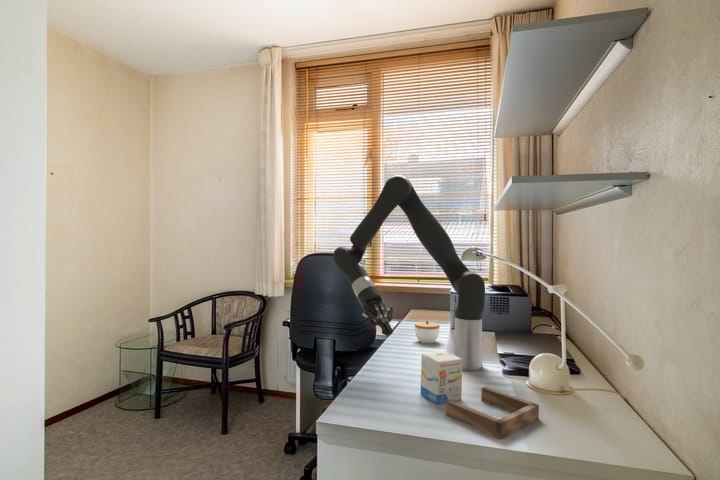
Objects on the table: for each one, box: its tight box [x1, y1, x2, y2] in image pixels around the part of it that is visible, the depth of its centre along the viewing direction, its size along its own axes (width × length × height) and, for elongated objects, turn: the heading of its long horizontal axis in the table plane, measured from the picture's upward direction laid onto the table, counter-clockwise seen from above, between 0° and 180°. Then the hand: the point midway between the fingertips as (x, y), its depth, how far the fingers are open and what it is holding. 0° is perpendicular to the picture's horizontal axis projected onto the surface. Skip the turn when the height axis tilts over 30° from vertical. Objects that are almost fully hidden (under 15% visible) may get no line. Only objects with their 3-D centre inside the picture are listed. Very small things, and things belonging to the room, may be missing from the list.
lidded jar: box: [414, 319, 440, 344], centre depth 176 cm, size 11×11×9 cm
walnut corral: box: [445, 386, 540, 440], centre depth 101 cm, size 17×16×4 cm
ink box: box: [419, 351, 463, 405], centre depth 114 cm, size 9×8×12 cm
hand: (390, 334), depth 130 cm, fingers closed
